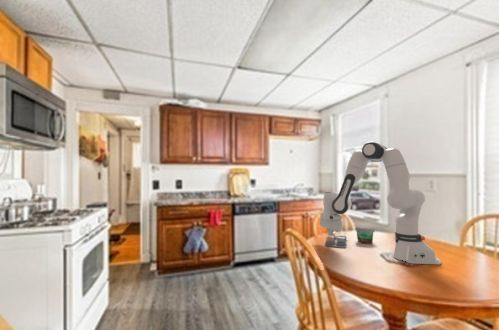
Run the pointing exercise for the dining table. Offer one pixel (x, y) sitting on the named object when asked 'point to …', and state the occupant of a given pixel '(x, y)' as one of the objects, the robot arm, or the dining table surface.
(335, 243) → the keypad base
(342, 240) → the slate key
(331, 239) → the terracotta key
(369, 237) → the food container
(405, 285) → the dining table surface
